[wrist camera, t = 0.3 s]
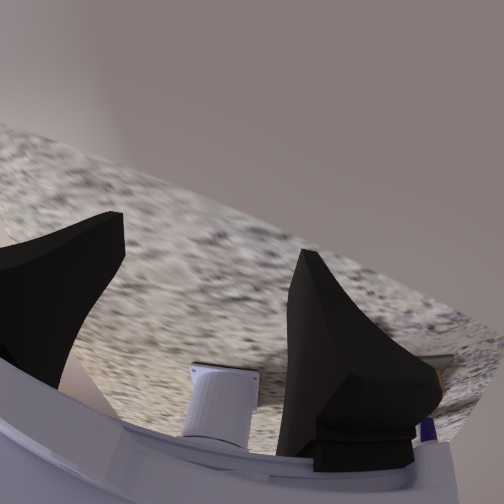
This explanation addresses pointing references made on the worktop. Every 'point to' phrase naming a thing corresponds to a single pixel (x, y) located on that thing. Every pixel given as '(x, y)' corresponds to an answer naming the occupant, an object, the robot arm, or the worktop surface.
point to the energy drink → (425, 432)
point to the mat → (438, 361)
